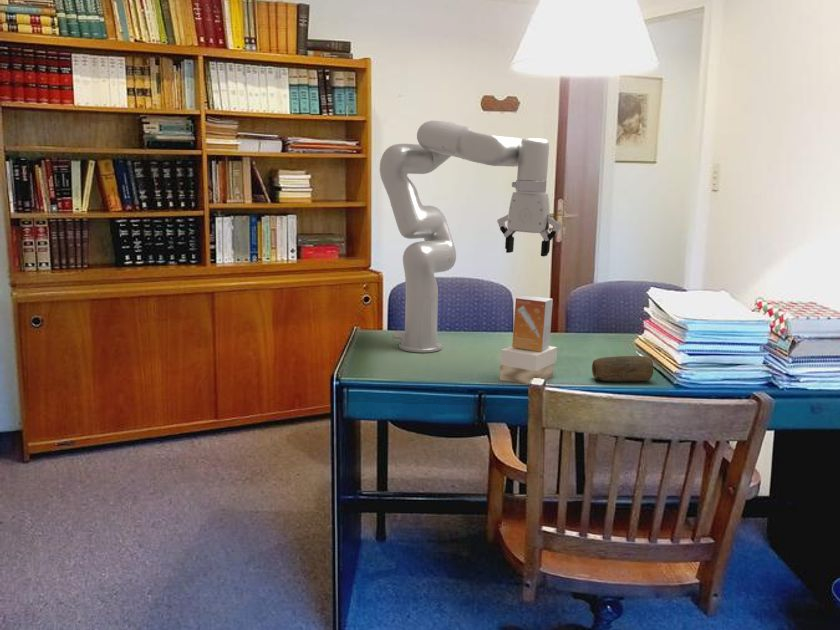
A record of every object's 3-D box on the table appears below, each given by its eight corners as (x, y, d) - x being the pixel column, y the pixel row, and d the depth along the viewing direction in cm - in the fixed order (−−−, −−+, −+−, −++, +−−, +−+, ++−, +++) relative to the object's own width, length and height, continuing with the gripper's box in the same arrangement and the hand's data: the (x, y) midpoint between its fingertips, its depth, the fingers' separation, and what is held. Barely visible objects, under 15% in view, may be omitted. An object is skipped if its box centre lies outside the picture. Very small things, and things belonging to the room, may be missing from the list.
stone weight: (643, 377, 204) (645, 352, 202) (654, 384, 197) (656, 359, 196) (588, 377, 202) (590, 352, 200) (597, 385, 195) (599, 359, 194)
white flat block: (500, 364, 198) (500, 349, 197) (522, 356, 207) (522, 341, 207) (535, 371, 192) (536, 355, 191) (556, 362, 202) (557, 347, 201)
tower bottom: (499, 380, 198) (500, 365, 197) (517, 370, 208) (518, 356, 207) (536, 386, 193) (537, 371, 192) (552, 376, 203) (553, 361, 202)
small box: (511, 348, 198) (515, 297, 196) (520, 343, 204) (523, 295, 201) (542, 352, 194) (545, 301, 192) (549, 348, 200) (553, 298, 198)
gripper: (494, 186, 199) (490, 252, 203) (558, 189, 191) (553, 258, 194) (506, 185, 206) (502, 249, 209) (568, 189, 197) (563, 256, 201)
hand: (526, 254), depth 202 cm, fingers open, 9 cm apart
